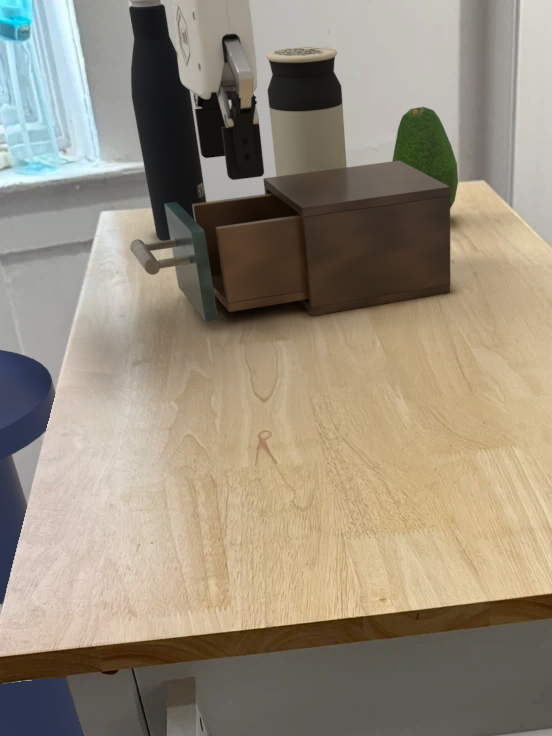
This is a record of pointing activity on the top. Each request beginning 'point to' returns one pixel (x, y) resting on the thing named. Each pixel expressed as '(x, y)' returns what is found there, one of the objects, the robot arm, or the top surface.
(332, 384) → the top surface
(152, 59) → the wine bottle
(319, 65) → the travel mug
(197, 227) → the drawer
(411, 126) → the avocado
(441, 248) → the cabinet
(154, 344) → the top surface
